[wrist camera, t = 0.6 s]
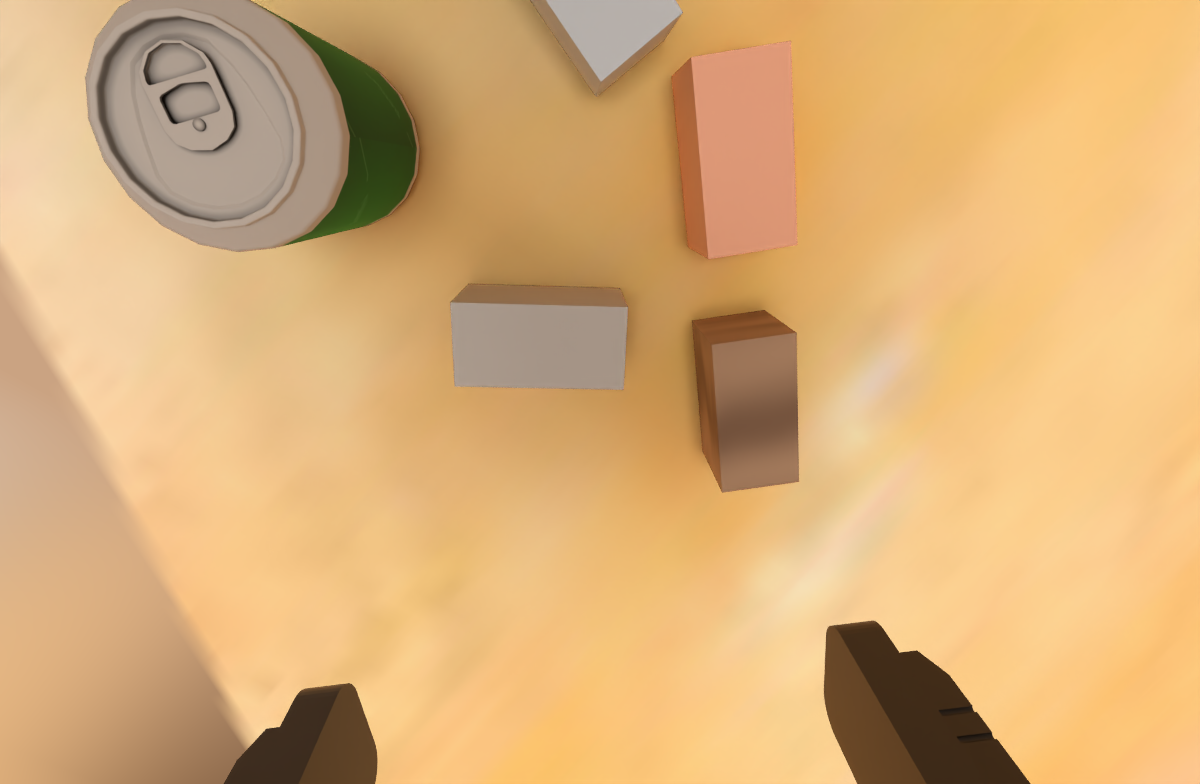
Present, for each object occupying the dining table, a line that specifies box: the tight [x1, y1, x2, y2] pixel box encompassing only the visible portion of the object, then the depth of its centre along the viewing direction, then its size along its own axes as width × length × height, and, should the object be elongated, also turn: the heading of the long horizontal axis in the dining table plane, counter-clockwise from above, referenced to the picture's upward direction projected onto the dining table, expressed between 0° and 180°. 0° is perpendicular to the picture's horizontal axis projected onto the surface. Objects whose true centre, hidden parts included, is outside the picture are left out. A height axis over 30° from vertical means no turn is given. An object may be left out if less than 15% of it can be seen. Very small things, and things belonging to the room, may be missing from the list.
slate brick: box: [450, 284, 628, 390], centre depth 29 cm, size 8×4×5 cm, turn 88°
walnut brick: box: [692, 310, 799, 492], centre depth 31 cm, size 8×4×5 cm, turn 8°
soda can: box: [85, 0, 420, 252], centre depth 23 cm, size 8×8×12 cm
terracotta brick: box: [672, 41, 797, 259], centre depth 27 cm, size 8×4×5 cm, turn 9°
